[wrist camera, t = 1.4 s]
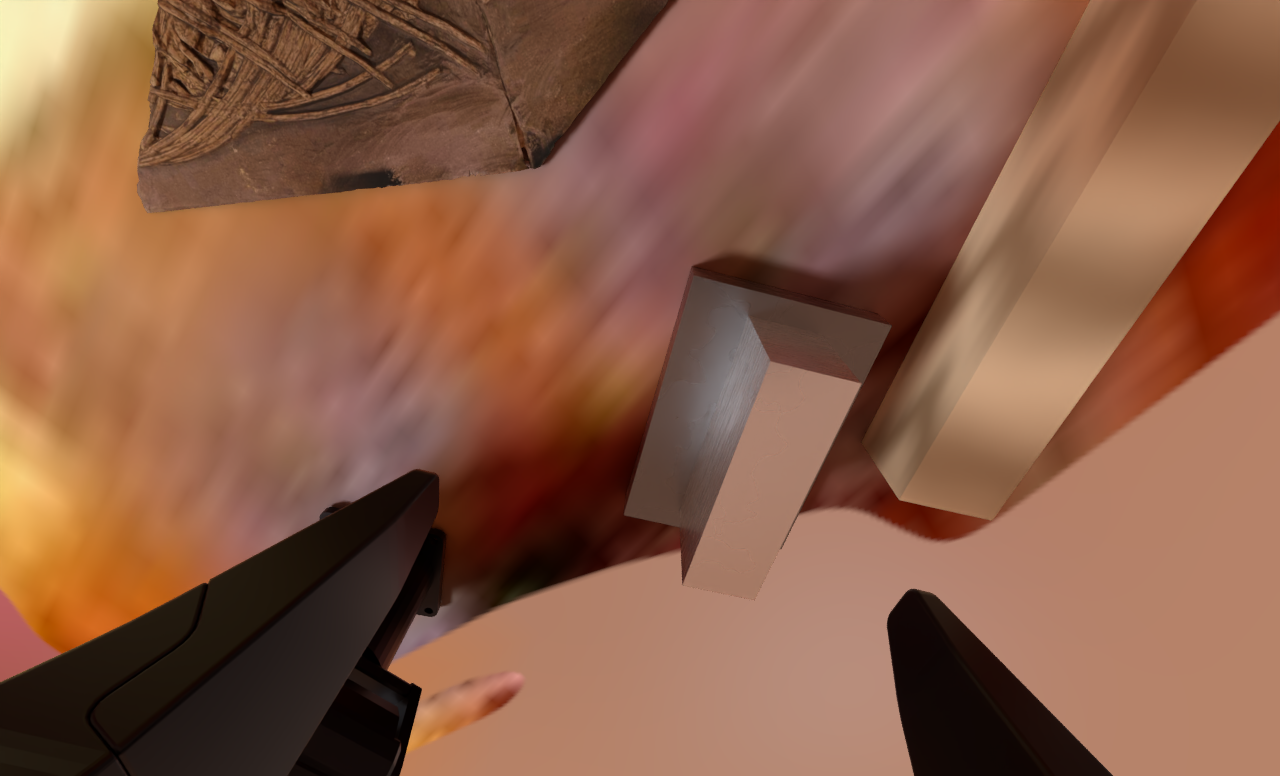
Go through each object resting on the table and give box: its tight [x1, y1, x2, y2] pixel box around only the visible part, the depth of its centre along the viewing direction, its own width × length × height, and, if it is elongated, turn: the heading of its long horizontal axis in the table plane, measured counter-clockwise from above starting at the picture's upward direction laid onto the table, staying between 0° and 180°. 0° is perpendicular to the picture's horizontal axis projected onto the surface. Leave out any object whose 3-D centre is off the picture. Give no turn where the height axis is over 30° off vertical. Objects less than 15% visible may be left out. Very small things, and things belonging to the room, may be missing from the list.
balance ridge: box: [624, 267, 892, 600], centre depth 21 cm, size 12×8×6 cm, turn 167°
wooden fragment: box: [137, 0, 668, 213], centre depth 17 cm, size 26×11×1 cm, turn 110°
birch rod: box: [861, 0, 1280, 521], centre depth 18 cm, size 18×4×4 cm, turn 167°
